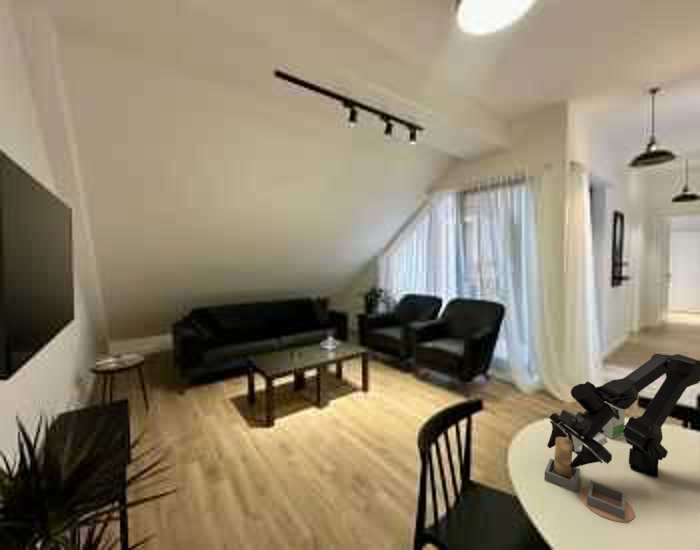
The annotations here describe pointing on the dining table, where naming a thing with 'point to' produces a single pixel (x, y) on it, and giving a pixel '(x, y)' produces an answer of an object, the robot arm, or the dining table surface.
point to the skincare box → (615, 424)
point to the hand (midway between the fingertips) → (559, 456)
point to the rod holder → (561, 480)
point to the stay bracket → (607, 502)
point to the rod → (563, 457)
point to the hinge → (578, 444)
